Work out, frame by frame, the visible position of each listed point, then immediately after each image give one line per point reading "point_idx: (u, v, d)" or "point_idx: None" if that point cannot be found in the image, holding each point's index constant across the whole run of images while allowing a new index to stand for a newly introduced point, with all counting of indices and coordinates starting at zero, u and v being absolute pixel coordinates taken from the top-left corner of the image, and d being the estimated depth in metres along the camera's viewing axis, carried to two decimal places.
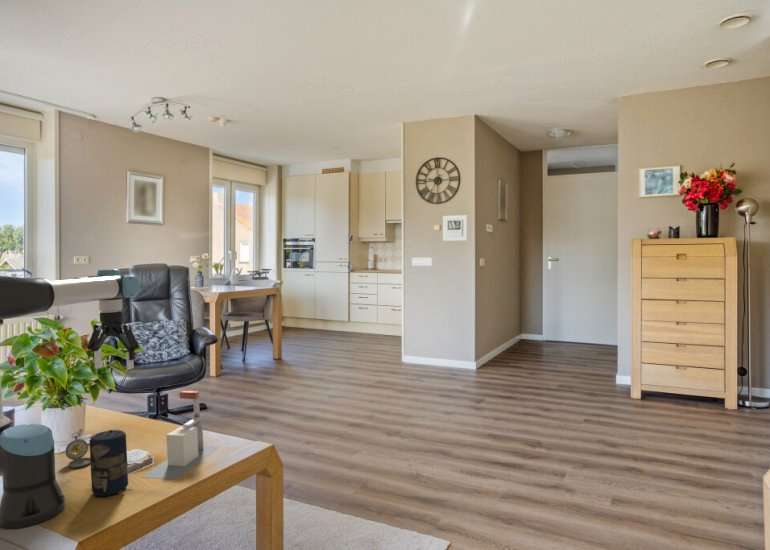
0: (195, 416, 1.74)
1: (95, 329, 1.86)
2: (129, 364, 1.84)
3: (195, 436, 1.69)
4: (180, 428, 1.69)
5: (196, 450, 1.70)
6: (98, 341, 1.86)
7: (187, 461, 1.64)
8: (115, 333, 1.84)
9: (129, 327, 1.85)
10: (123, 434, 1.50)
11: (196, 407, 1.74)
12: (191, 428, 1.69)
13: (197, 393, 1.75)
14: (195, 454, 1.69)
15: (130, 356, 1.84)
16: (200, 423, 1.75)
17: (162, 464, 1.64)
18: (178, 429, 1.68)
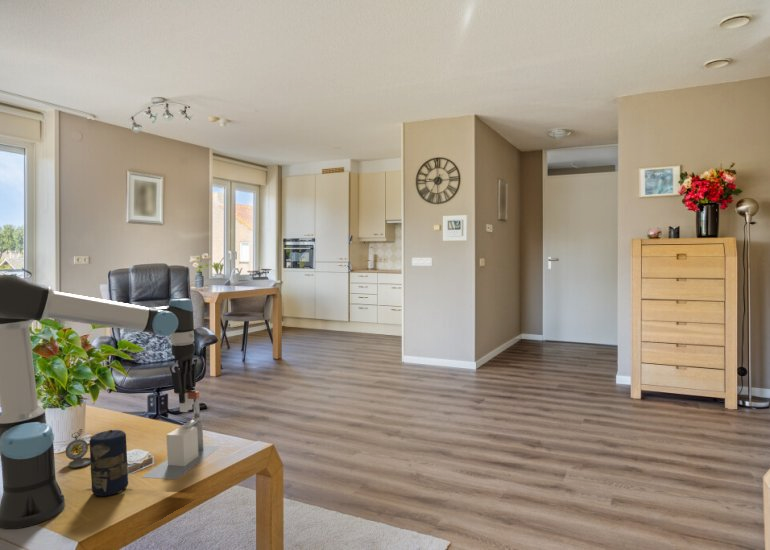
0: (195, 416, 1.74)
1: None
2: (181, 406, 1.74)
3: (195, 436, 1.69)
4: (180, 428, 1.69)
5: (196, 450, 1.70)
6: None
7: (187, 461, 1.64)
8: None
9: (175, 370, 1.69)
10: (123, 434, 1.50)
11: (196, 407, 1.74)
12: (191, 428, 1.69)
13: (197, 393, 1.75)
14: (195, 454, 1.69)
15: None
16: (200, 423, 1.75)
17: (162, 464, 1.64)
18: (178, 429, 1.68)
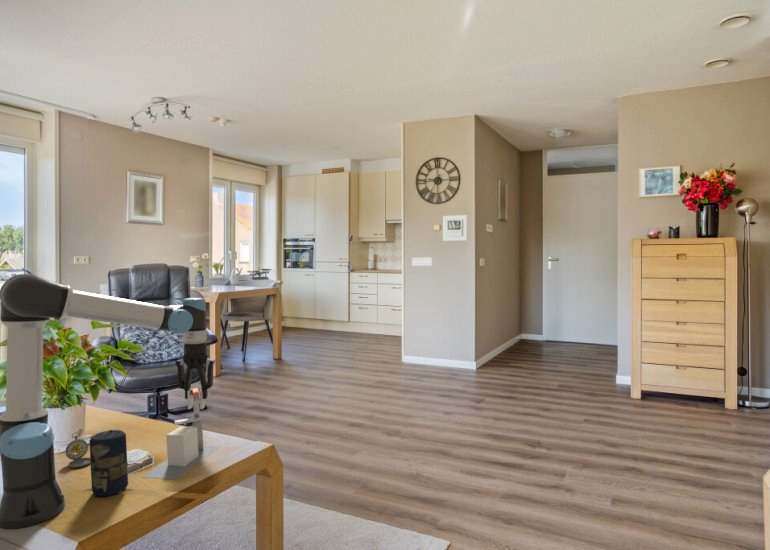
0: (194, 416, 1.75)
1: None
2: None
3: (195, 436, 1.69)
4: (180, 428, 1.69)
5: (196, 450, 1.70)
6: None
7: (187, 461, 1.64)
8: None
9: None
10: (123, 434, 1.50)
11: (194, 407, 1.74)
12: (191, 428, 1.69)
13: (195, 393, 1.74)
14: (195, 454, 1.69)
15: None
16: (200, 423, 1.75)
17: (162, 464, 1.64)
18: (178, 429, 1.68)
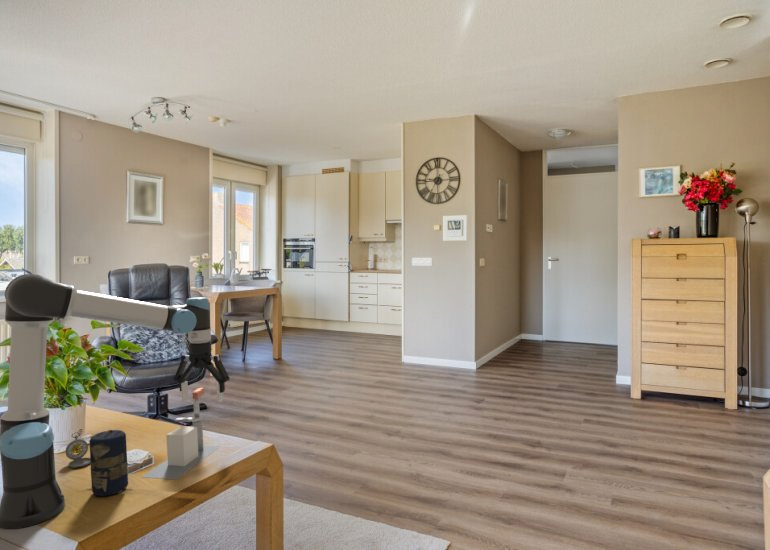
0: None
1: None
2: None
3: (195, 436, 1.69)
4: (180, 428, 1.69)
5: (196, 450, 1.70)
6: None
7: (187, 461, 1.64)
8: None
9: None
10: (123, 434, 1.50)
11: None
12: (191, 428, 1.69)
13: (194, 393, 1.74)
14: (195, 454, 1.69)
15: None
16: (200, 423, 1.75)
17: (162, 464, 1.64)
18: (178, 429, 1.68)
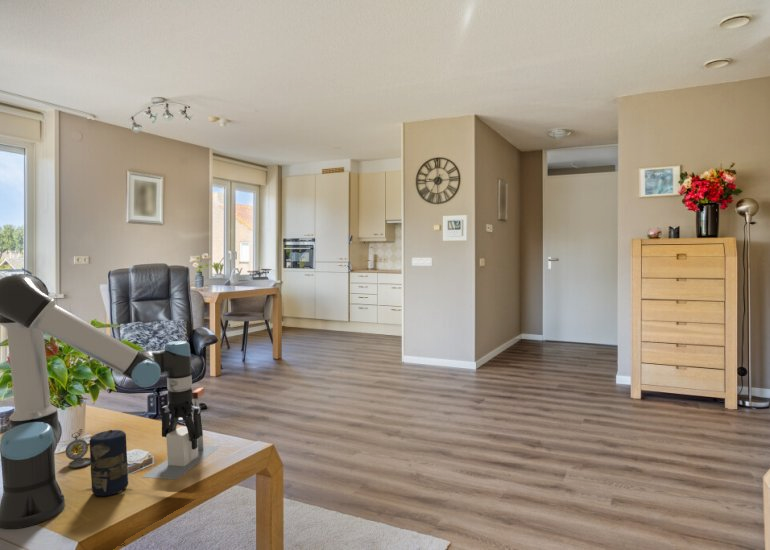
0: None
1: None
2: None
3: None
4: (180, 428, 1.69)
5: (196, 450, 1.70)
6: None
7: (187, 461, 1.64)
8: None
9: None
10: (123, 434, 1.50)
11: None
12: None
13: (194, 393, 1.74)
14: None
15: None
16: None
17: (162, 464, 1.64)
18: (178, 429, 1.68)
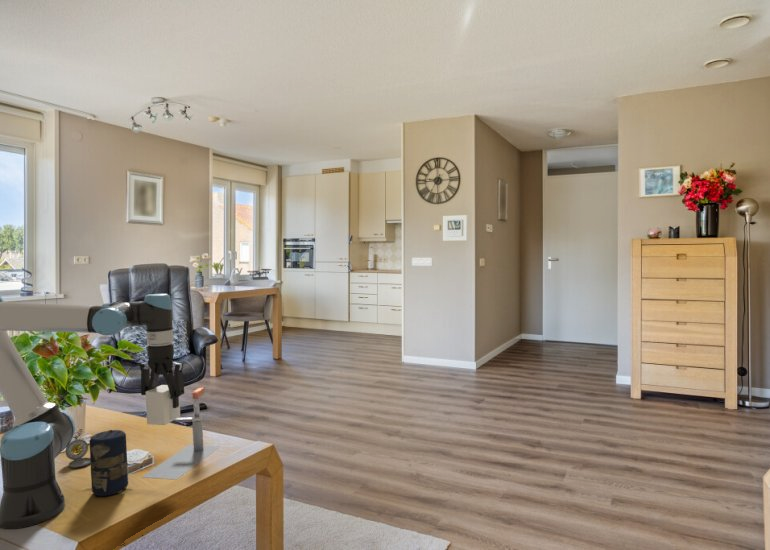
0: None
1: None
2: None
3: None
4: (161, 386, 1.59)
5: (178, 410, 1.60)
6: None
7: (167, 420, 1.55)
8: None
9: None
10: (123, 434, 1.50)
11: None
12: None
13: (194, 393, 1.74)
14: (177, 413, 1.59)
15: None
16: (200, 423, 1.75)
17: (162, 464, 1.64)
18: (158, 387, 1.58)
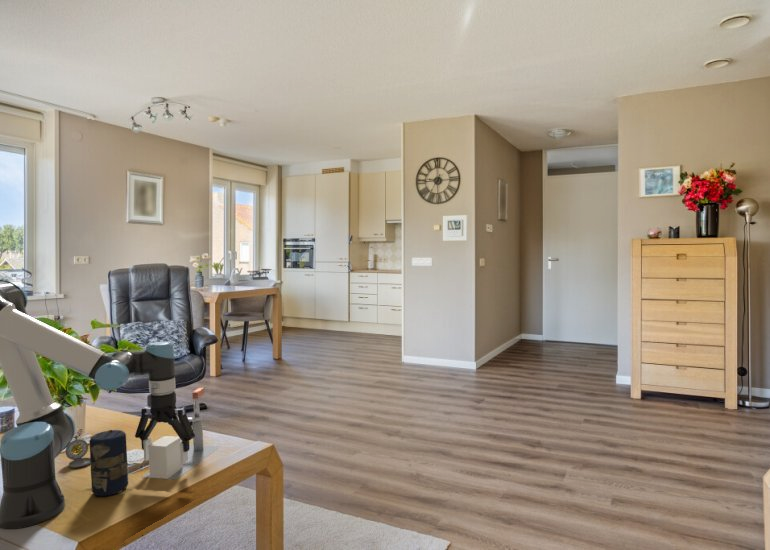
0: None
1: None
2: None
3: (179, 446, 1.60)
4: (163, 438, 1.60)
5: None
6: None
7: (170, 473, 1.55)
8: None
9: None
10: (123, 434, 1.50)
11: None
12: (175, 438, 1.60)
13: (194, 393, 1.74)
14: (179, 465, 1.60)
15: None
16: (200, 423, 1.75)
17: None
18: (161, 439, 1.59)
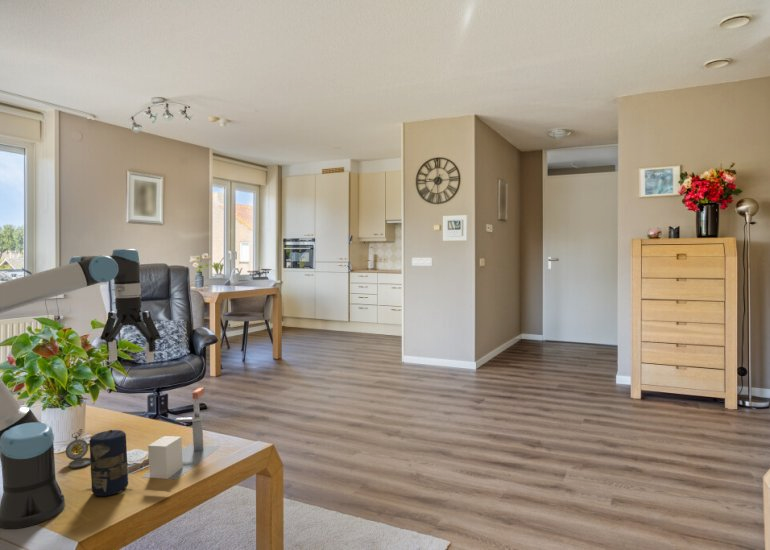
0: None
1: None
2: None
3: (179, 446, 1.60)
4: (163, 438, 1.60)
5: (181, 461, 1.61)
6: None
7: (170, 473, 1.55)
8: None
9: None
10: (123, 434, 1.50)
11: None
12: (175, 438, 1.60)
13: (194, 393, 1.74)
14: (179, 465, 1.60)
15: None
16: (200, 423, 1.75)
17: None
18: (161, 439, 1.59)
